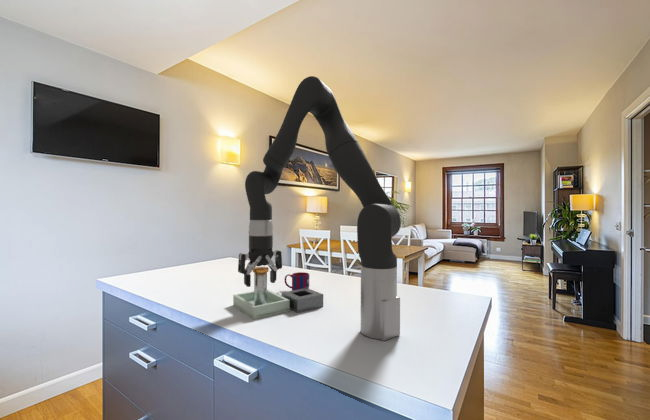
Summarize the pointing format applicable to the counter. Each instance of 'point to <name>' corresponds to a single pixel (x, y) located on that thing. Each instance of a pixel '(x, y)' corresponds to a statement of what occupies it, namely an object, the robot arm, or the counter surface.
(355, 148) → the robot arm
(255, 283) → the pin
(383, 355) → the counter surface
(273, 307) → the tray
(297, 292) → the block
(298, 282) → the mug
